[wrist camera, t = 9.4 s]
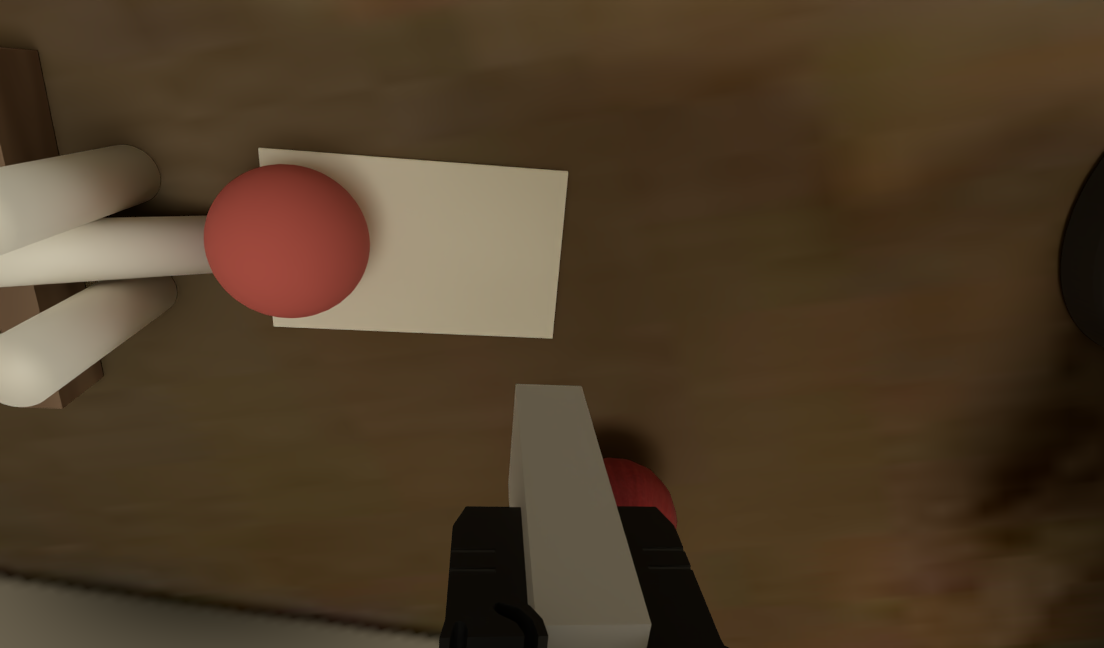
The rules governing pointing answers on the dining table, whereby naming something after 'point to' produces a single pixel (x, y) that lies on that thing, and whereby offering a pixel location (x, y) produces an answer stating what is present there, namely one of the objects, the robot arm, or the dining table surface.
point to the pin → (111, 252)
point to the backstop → (22, 136)
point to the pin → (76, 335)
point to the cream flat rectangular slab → (446, 245)
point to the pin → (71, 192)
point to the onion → (638, 487)
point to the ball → (286, 241)
